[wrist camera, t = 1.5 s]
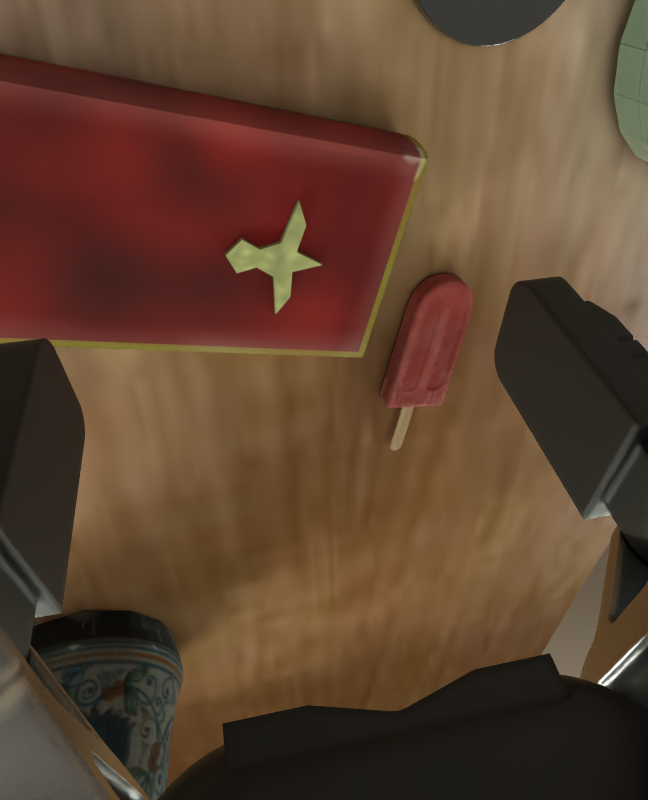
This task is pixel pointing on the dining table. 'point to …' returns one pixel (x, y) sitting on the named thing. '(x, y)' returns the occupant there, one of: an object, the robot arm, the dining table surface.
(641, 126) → the bowl
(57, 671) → the beer stein
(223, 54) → the dining table surface
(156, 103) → the hardcover book
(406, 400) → the popsicle
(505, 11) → the coaster
